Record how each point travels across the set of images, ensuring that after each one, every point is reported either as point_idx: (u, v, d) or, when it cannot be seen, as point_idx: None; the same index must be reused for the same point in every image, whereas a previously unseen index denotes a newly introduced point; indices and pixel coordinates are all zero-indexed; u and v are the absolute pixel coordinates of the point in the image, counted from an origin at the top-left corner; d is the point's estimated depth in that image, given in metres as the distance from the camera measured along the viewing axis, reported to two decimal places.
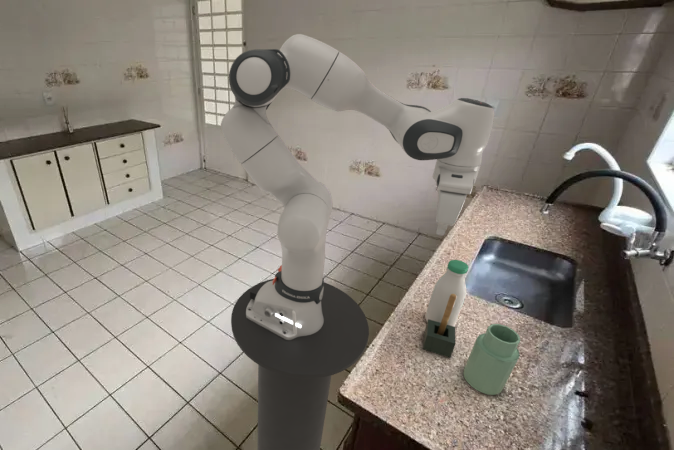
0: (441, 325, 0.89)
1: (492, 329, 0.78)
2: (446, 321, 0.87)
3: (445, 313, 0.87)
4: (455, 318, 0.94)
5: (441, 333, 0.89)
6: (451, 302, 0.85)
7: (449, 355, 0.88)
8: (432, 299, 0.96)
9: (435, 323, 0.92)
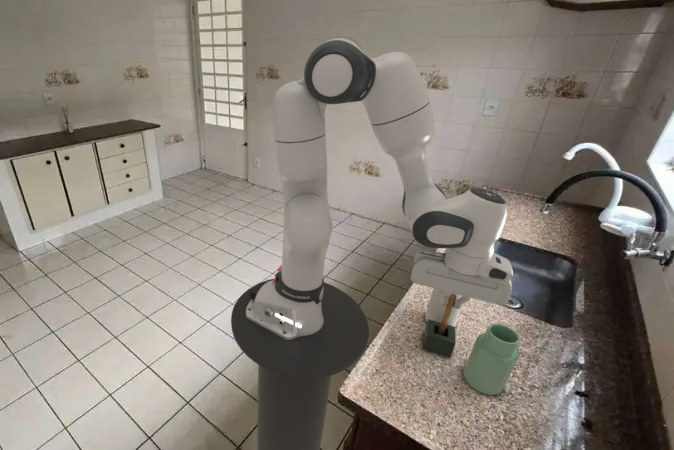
0: (441, 325, 0.89)
1: (492, 329, 0.78)
2: (445, 321, 0.87)
3: (445, 313, 0.87)
4: (455, 318, 0.94)
5: (441, 333, 0.89)
6: (451, 302, 0.85)
7: (449, 355, 0.88)
8: (432, 299, 0.96)
9: (435, 323, 0.92)
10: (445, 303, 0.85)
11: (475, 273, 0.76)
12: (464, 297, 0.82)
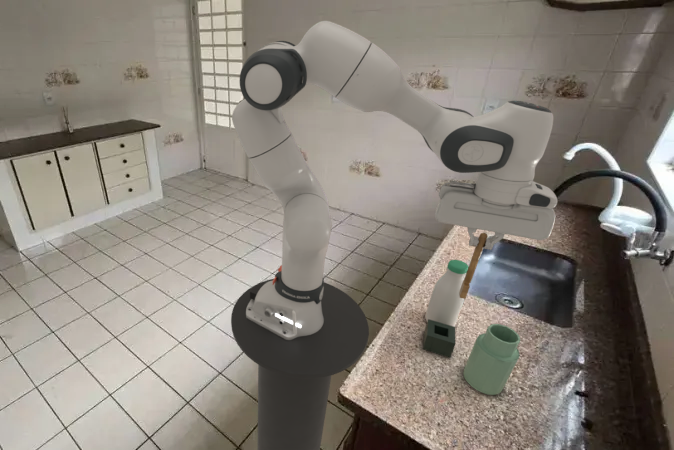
0: (468, 271, 0.79)
1: (492, 329, 0.78)
2: (474, 266, 0.78)
3: (474, 256, 0.77)
4: (455, 318, 0.94)
5: (468, 281, 0.80)
6: (481, 242, 0.75)
7: (449, 355, 0.88)
8: (432, 299, 0.96)
9: (435, 323, 0.92)
10: (474, 244, 0.75)
11: (513, 201, 0.66)
12: (497, 235, 0.72)
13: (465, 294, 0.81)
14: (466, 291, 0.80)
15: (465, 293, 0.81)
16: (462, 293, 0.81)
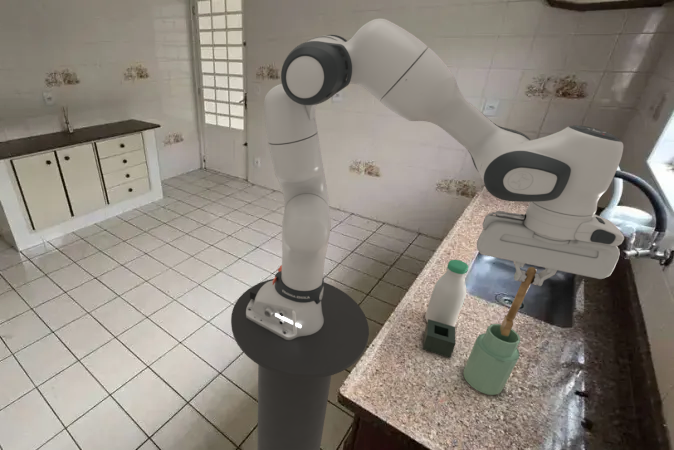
0: (513, 307, 0.72)
1: (492, 329, 0.78)
2: (520, 302, 0.71)
3: (519, 292, 0.70)
4: (455, 318, 0.94)
5: (512, 317, 0.73)
6: (529, 277, 0.68)
7: (449, 355, 0.88)
8: (432, 299, 0.96)
9: (435, 323, 0.92)
10: (521, 279, 0.69)
11: (572, 237, 0.59)
12: (549, 270, 0.66)
13: (508, 331, 0.74)
14: (509, 328, 0.73)
15: (508, 330, 0.74)
16: (504, 330, 0.74)
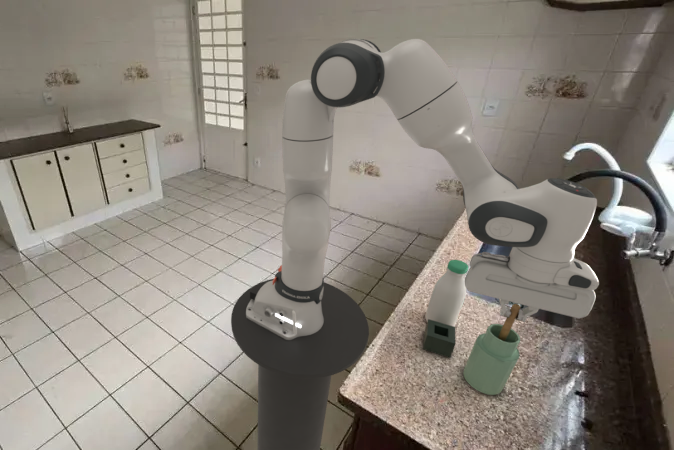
0: None
1: (492, 329, 0.78)
2: (505, 335, 0.75)
3: (505, 326, 0.74)
4: (455, 318, 0.94)
5: None
6: (514, 314, 0.72)
7: (449, 355, 0.88)
8: (432, 299, 0.96)
9: (435, 323, 0.92)
10: (506, 315, 0.73)
11: (551, 281, 0.63)
12: (531, 308, 0.70)
13: None
14: None
15: None
16: None
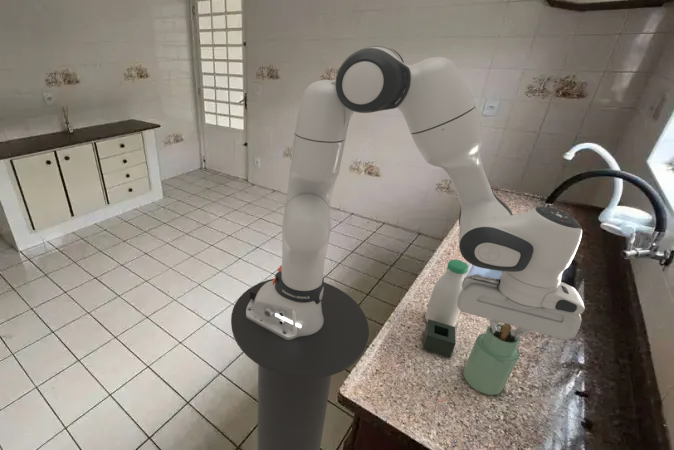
0: None
1: None
2: None
3: None
4: (455, 318, 0.94)
5: None
6: (505, 332, 0.75)
7: (449, 355, 0.88)
8: (432, 299, 0.96)
9: (435, 323, 0.92)
10: (496, 334, 0.76)
11: (539, 304, 0.66)
12: (522, 329, 0.72)
13: None
14: None
15: None
16: None
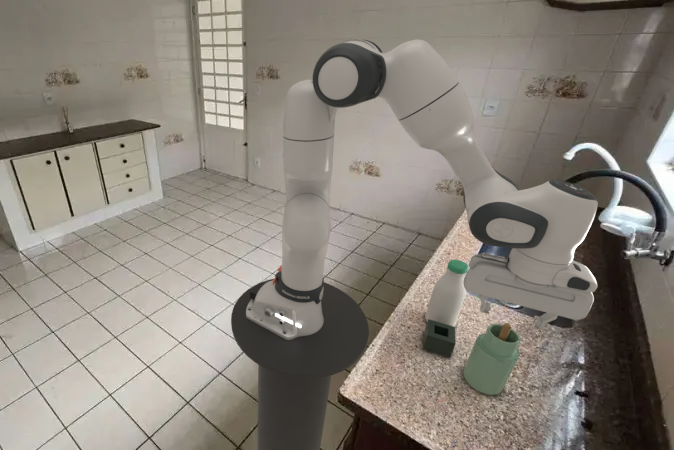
0: None
1: (492, 329, 0.78)
2: None
3: None
4: (455, 318, 0.94)
5: None
6: (505, 332, 0.75)
7: (449, 355, 0.88)
8: (432, 299, 0.96)
9: (435, 323, 0.92)
10: (486, 311, 0.74)
11: (550, 282, 0.64)
12: (550, 315, 0.69)
13: None
14: None
15: None
16: None
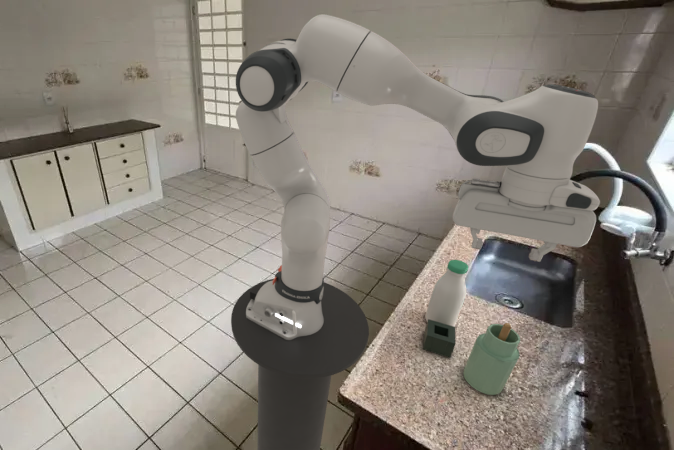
0: None
1: (492, 329, 0.78)
2: None
3: None
4: (455, 318, 0.94)
5: None
6: (505, 332, 0.75)
7: (449, 355, 0.88)
8: (432, 299, 0.96)
9: (435, 323, 0.92)
10: (478, 246, 0.68)
11: (547, 202, 0.57)
12: (548, 244, 0.62)
13: None
14: None
15: None
16: None
